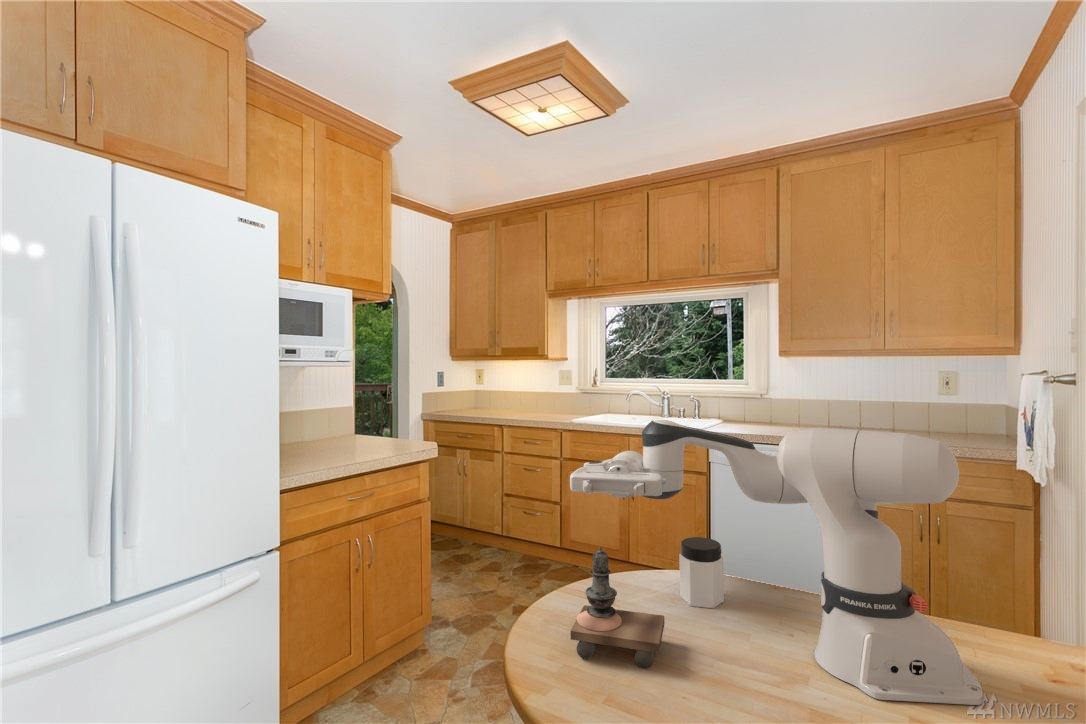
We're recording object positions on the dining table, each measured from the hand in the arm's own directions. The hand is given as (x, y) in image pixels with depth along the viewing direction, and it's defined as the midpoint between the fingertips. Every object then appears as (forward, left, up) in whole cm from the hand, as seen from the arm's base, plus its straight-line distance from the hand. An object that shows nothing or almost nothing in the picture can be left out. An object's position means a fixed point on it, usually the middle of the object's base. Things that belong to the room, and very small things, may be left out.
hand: (609, 491), depth 111 cm
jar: (-18, -8, -24) cm, 31 cm away
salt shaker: (-1, +13, -20) cm, 23 cm away
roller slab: (-4, +16, -24) cm, 29 cm away
